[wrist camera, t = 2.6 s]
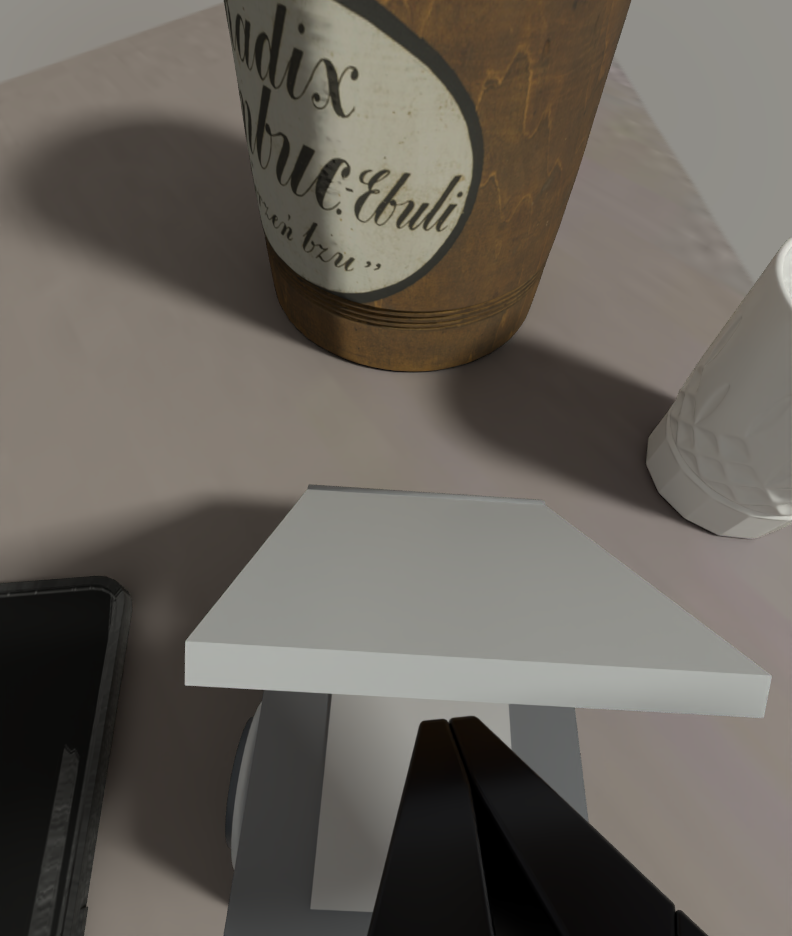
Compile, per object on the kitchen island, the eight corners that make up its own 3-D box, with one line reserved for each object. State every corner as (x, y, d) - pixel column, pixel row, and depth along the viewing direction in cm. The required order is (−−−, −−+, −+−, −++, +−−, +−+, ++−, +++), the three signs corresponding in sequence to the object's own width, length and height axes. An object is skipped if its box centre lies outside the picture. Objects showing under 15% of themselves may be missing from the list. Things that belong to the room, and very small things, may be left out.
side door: (761, 724, 7) (773, 668, 7) (184, 692, 7) (184, 633, 6) (537, 521, 17) (540, 497, 17) (309, 506, 17) (310, 482, 17)
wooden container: (223, 259, 30) (-18, -632, 11) (415, 176, 35) (475, -513, 16) (387, 424, 24) (468, -774, 6) (584, 296, 30) (960, -527, 11)
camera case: (546, 934, 15) (610, 989, 11) (234, 920, 15) (187, 971, 11) (517, 574, 21) (553, 526, 17) (291, 559, 21) (274, 508, 17)
